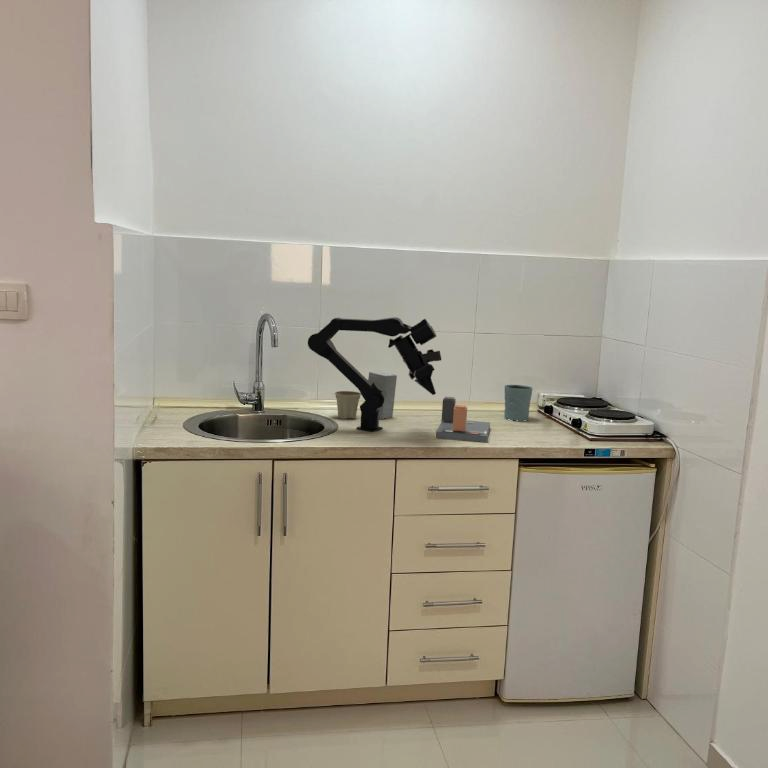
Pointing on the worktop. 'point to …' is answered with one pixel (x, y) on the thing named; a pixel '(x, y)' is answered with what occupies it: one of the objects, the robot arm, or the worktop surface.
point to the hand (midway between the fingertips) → (434, 394)
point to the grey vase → (389, 384)
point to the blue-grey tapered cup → (517, 402)
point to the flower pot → (347, 403)
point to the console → (472, 432)
